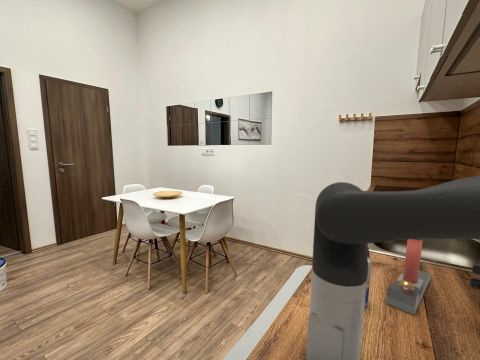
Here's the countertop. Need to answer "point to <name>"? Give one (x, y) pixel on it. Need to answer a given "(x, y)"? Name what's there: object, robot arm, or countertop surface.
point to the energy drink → (368, 282)
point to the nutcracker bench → (408, 308)
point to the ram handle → (412, 263)
